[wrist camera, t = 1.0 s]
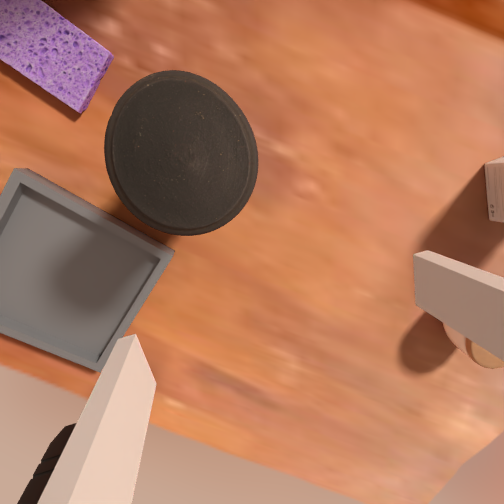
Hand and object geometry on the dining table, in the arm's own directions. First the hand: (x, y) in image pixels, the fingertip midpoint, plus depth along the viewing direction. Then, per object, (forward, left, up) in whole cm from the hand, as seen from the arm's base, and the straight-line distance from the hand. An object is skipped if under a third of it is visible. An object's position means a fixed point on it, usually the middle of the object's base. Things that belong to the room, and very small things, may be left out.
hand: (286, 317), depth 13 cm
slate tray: (-4, -20, -25) cm, 32 cm away
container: (-8, -1, -25) cm, 27 cm away
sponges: (-25, -9, -26) cm, 37 cm away
